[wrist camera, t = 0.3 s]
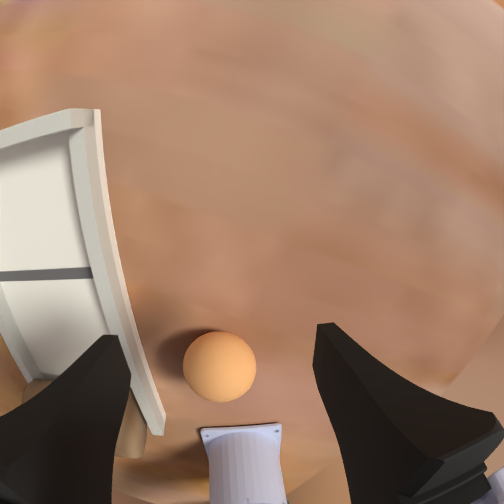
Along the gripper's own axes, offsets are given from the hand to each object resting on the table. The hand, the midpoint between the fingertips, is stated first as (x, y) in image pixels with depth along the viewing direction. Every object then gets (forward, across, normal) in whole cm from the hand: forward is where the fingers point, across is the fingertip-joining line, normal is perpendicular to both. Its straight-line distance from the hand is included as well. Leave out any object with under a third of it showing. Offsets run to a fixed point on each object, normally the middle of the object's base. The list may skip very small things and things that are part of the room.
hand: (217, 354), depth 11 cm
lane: (+10, +13, +4) cm, 16 cm away
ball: (+7, +1, +8) cm, 10 cm away
